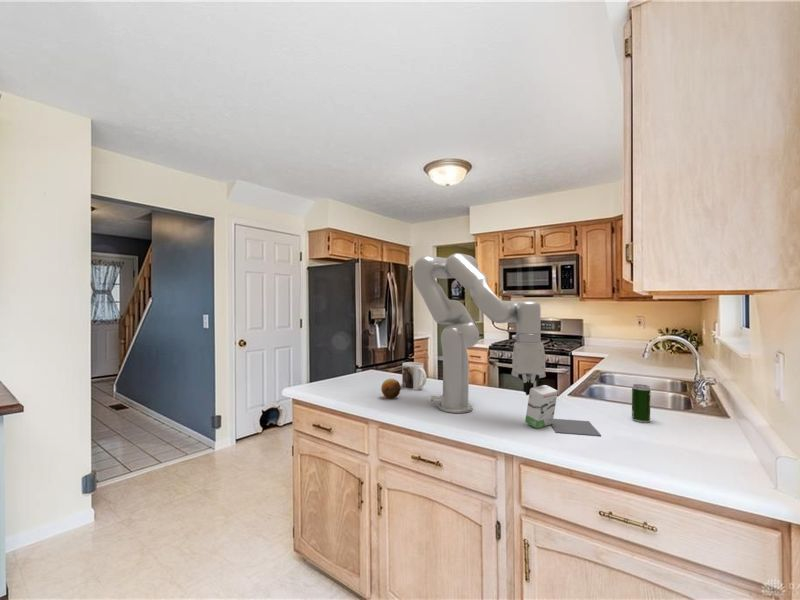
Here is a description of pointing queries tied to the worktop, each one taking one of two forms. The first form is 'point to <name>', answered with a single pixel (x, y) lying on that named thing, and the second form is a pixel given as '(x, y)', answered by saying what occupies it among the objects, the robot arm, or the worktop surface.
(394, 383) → the fruit
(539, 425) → the ink box
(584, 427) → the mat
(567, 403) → the worktop surface
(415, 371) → the mug
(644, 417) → the beer can
